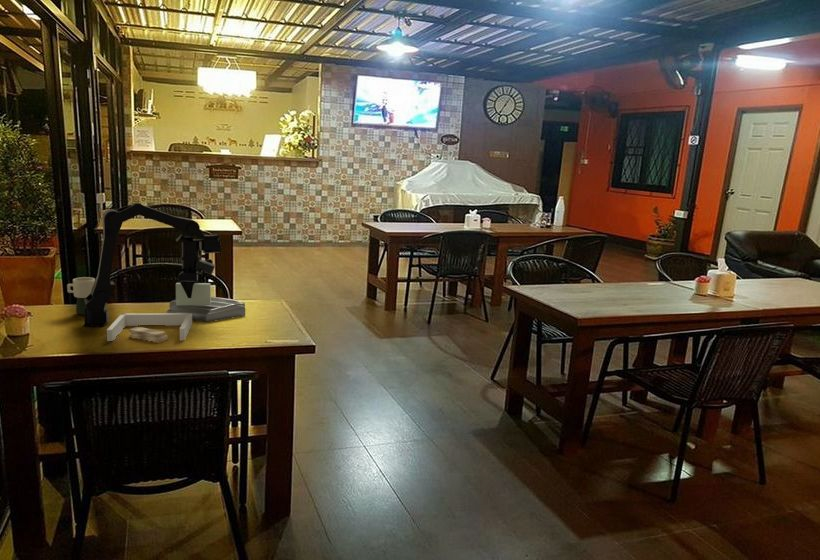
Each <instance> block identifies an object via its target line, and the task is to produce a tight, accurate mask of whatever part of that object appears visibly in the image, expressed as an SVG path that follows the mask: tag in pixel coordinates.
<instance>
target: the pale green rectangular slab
mask: <svg viewBox="0 0 820 560" xmlns="http://www.w3.org/2000/svg"><path fill="white" fill-rule="evenodd" d="M211 284H212V283H209V282H208V283H207V282H202V283H201V282H196V283H195V284H194V285H193V291H192V296H191V298H188V297H187V295H186V293H185V291H184V289H183V287H182V285H181V283H180V282H176V283H175V300H176V305H211V297H212V295H211V294H212V293H211V292H212V289H211V288H212V286H211Z"/></svg>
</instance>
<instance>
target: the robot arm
mask: <svg viewBox="0 0 820 560" xmlns="http://www.w3.org/2000/svg"><path fill="white" fill-rule="evenodd" d="M137 216H141V217H144V218H147V219H149V220H153V221H156V222H159V223H161V224H164V225H167V226H169V227H172V228H174V229H176V230H177V231H180V232H181V233H183V234H184V235H186V236H184V235H182V234H180V235H179V236H177V238H176V239H175V241H176V242H177V243H181V257H180V260H181V261H182V263H181V264H182V267H181V272H180V273H179V274H178V278H177V279H178V283H181V285H182V287H183V289H184V291H185V293H186V295H187V297H188V298H191V296H192V291H193V285H194V284H195V283H198V281H199V277H200V276H201V275H202V274H203V272H204V273H207V275H213V273H214V270H215V267H216V264H215V263H213V262H214V261H213V259H211V258H208V259H207V260H203V259H201V256H200V251H202V253H203V254H216V253H217V254H218V253H219V254H220V252H221V251H222V250H221V249H222V248H221V245H222V244H221V240H220V238H219V237H220V236H219V234H206V235H204V233H203V232H202V231H201V230H200V229H201V228H200V225H199V223H198V222H197V221H195V220H194V219H191V218H186V217H181V216H175V215H171V214H169V213H167V212H164V211H160V210H157V209H155V208H152V207H150V206H147V205H144V204H142V203H140V202H132V203H131V204H129V205H126V206H122V207H120V208H116V209H114V208H113V209H111V208H109V209H107V210H105V211H103V214H102V218H101V219H102V231H103V232H102V233H103V236H102V245H101V251H100V257H99V263H98V270H97V276H96V278H95V282H94V284H93V287H92V290H91V293H90V294H89V295H88V296H87V297H86V298H85V303H86V306H85V307H84V314H83V315H84V323H83V327H104V326H106V324H108V322H109V321H110V319H109V310H108V309H107V305H106V304H107V303H109V302H110V301H111V299H112V297H114V289H115V287H116V283H115V282H114V281H113V280H112V281H111V274H112V268H113V263H114V262H113V260H114V254H115V249H116V242H117V238H118V235H119V233H120V231H121V229H122V225H123V223H124V222H126V221H129V220H131V219H132V218H134V217H137ZM193 237H196V238H193Z"/></svg>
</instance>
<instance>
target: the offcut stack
mask: <svg viewBox="0 0 820 560" xmlns="http://www.w3.org/2000/svg"><path fill="white" fill-rule="evenodd" d="M128 333H129V335H128V338H130V337H132V338H131V339H135V338H138V339H137V340H140V339H143V340H142V341H145V340H148V341H147V342H150V341H153V342H152V343H155V342H157V344H159V342H160V343H163V342H165V340H166V341H168V335H167V333H166V331H163V330H158V329H153V328H146V327H143V326H136V327H135V326H134V327H132V328H129V329H128ZM162 341H163V342H162Z"/></svg>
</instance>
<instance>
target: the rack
mask: <svg viewBox="0 0 820 560" xmlns="http://www.w3.org/2000/svg"><path fill="white" fill-rule="evenodd" d="M138 325H139V326H138ZM140 325H165V326H180V327H179V341H180V342H184V341H183V340H185V341H186V339H187V337H188V335H189V332H190V330H191V328H192V326H191V325H193V320H192V313H167V312H166V313H165V312H164V313H163V312H162V313H161V312H160V313H159V312H158V313H153V312H152V313H149V312H148V313H144V312H143V313H121V314H120V315H119V316H118V317H117V318H116V319H115V320H114V321H113V322H112V323H111V325H110V326H108V328H107V329H106V341H113V340H114V341H115V340H116V338H117V337H118V336H119V335H118V334H121V332H122V331H124V329H125V327H135V326H136V327H141V326H140ZM123 328H124V329H123ZM187 334H188V335H187ZM117 335H118V336H117ZM116 336H117V337H116ZM186 336H187V337H186ZM114 341H113V342H114Z"/></svg>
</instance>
